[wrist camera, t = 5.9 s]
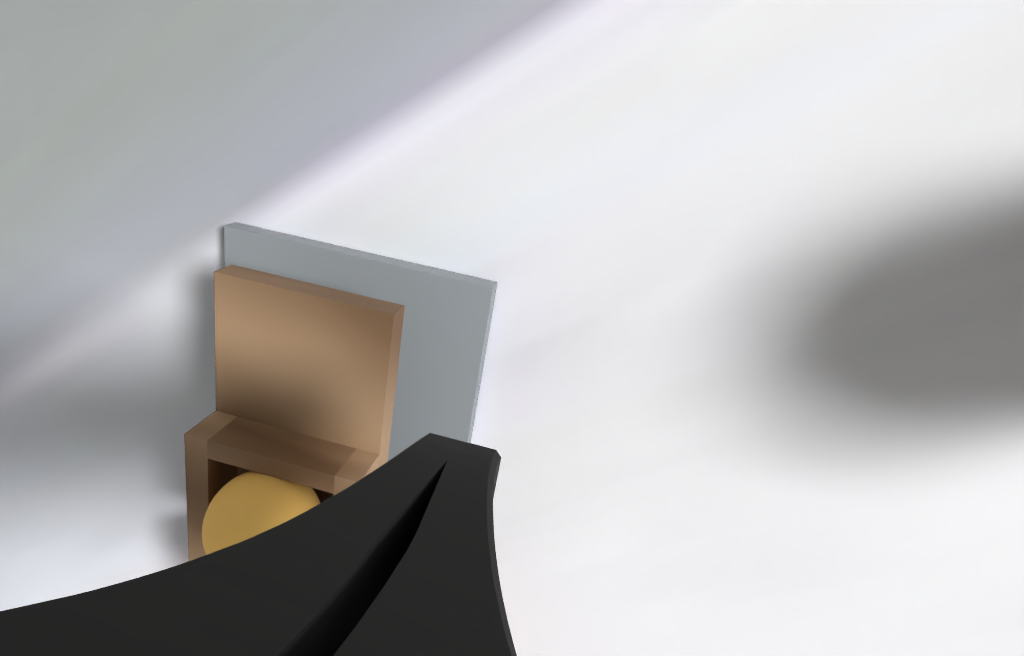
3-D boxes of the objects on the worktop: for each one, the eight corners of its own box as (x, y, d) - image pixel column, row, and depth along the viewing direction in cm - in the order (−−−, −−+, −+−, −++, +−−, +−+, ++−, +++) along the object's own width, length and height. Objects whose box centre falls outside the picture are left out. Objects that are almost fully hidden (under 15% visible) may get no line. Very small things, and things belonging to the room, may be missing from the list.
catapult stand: (442, 610, 25) (404, 705, 21) (236, 549, 26) (165, 628, 22) (497, 282, 20) (460, 329, 16) (235, 222, 21) (141, 253, 17)
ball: (305, 610, 18) (274, 586, 15) (205, 580, 19) (157, 551, 16) (350, 505, 20) (328, 467, 17) (257, 478, 20) (221, 438, 18)
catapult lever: (371, 661, 23) (340, 725, 20) (229, 616, 23) (183, 674, 21) (413, 305, 17) (377, 338, 15) (227, 261, 18) (166, 287, 16)
